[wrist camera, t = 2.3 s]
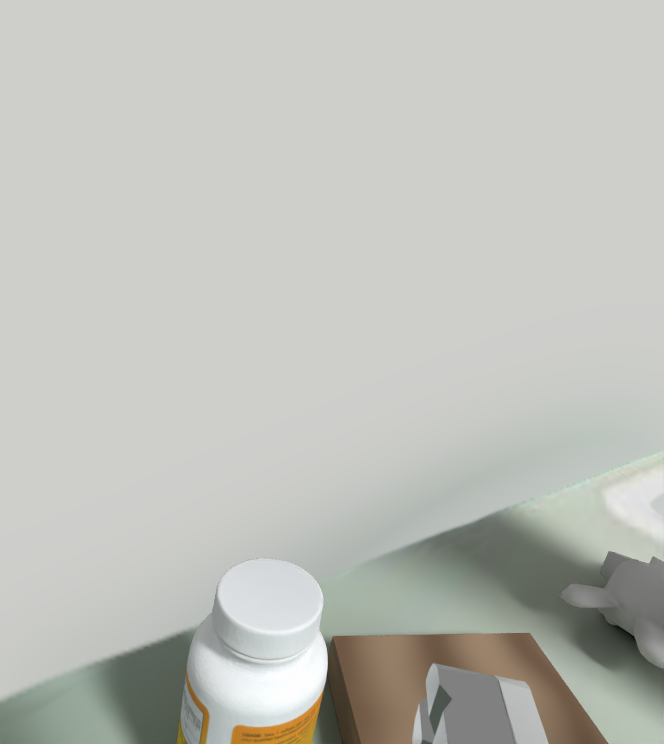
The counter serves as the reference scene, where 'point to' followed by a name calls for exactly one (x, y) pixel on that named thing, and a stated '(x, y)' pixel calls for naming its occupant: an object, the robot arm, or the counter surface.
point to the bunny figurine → (628, 601)
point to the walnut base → (409, 672)
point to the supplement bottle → (257, 659)
